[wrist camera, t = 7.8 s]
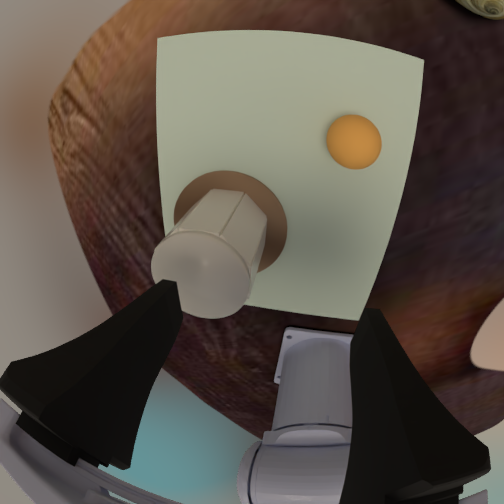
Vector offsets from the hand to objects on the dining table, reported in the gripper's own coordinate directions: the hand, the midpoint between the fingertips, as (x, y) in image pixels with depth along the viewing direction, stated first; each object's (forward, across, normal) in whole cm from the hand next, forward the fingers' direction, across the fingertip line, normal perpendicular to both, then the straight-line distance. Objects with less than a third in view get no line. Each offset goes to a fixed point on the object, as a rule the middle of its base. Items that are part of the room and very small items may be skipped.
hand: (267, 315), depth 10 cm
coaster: (+9, +4, +1) cm, 10 cm away
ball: (+8, -3, -6) cm, 10 cm away
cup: (+9, +4, +1) cm, 10 cm away
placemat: (+9, +1, -2) cm, 10 cm away
